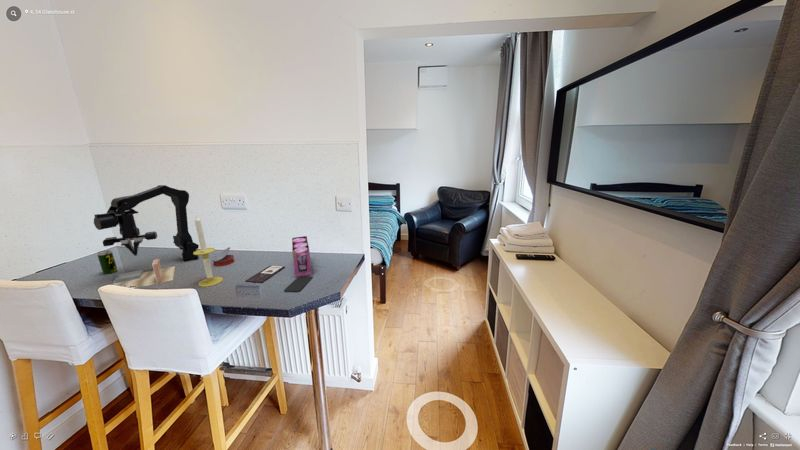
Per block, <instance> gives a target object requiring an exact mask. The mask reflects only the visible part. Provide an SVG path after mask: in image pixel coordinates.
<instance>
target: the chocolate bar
mask: <svg viewBox="0 0 800 450" xmlns="http://www.w3.org/2000/svg"><path fill="white" fill-rule="evenodd" d="M285 268H286V266H279V265H268V266H267V267H265V268H264V269H262V270H261V271H259V272H257V273H256V274H254V275H252V276H251V277H248V278H247V279H245V281H244V282H246V283H255V284H256V283H257V284H263V283H265V282H266V281H268V280H269V279H271V278H273V276H275V275H277V274H278V273H279V272H280V273H281V272H282V271H283V270H284V269H285Z"/></svg>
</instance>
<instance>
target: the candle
mask: <svg viewBox="0 0 800 450" xmlns="http://www.w3.org/2000/svg"><path fill="white" fill-rule="evenodd" d="M194 223H195V224H194V225H195V228H196V234H197V238H198V241H199V247H200V249H197V251H195V252H193V254H194V255H198V256H201V259H202V264H203V267H204V272H205V276H206V278H204V279H203V280H200V281H199V282H198V286H199V288H200V287H202V288H205V287H212V286H215V285H218V284H220V283H222V282H223V281H224V278H223V277H222V276H213V270H212V265H211V261H210V257H209V254H212V253H214V252H216V248H215V247H214V248H213V247H207V245H206V239H205V234H204V230H203V225H202V221H201V219H200V218H199V217H198V215H197V214H196V216H195V219H194Z"/></svg>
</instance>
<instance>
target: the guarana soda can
mask: <svg viewBox="0 0 800 450" xmlns="http://www.w3.org/2000/svg"><path fill="white" fill-rule="evenodd" d="M113 253H114V252H113V251H112V249H107V250H100V251H99V252H97V254H96V255H97V260H98V261H99V265H100V268H101V271H102V275H104V276H110V275H114V274H116V273H118V271H119V269H118V266H117V263H116V259H115V256H114V254H113Z"/></svg>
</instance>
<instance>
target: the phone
mask: <svg viewBox="0 0 800 450" xmlns="http://www.w3.org/2000/svg"><path fill="white" fill-rule="evenodd" d="M312 279H314V277H313V276H311V275H307V276H299V277H295V279H294V280H293V281H292V282H291V283H289V284H288V286H287V287H285V289H284V290H283V291H284V293H299V292H301V291H303V290H304V288H305V287H306V286H307V285H309V283H310V282H311V281H312Z"/></svg>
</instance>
